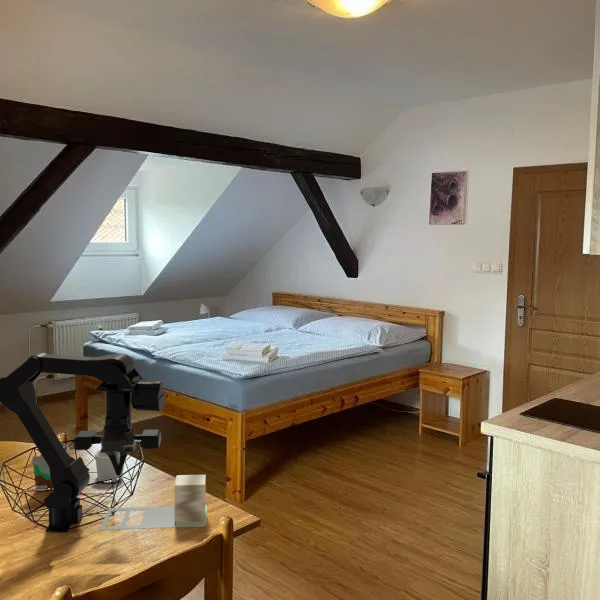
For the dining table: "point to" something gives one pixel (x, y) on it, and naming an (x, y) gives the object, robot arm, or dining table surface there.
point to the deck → (152, 518)
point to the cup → (105, 467)
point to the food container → (43, 471)
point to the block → (190, 498)
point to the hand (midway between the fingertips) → (118, 475)
